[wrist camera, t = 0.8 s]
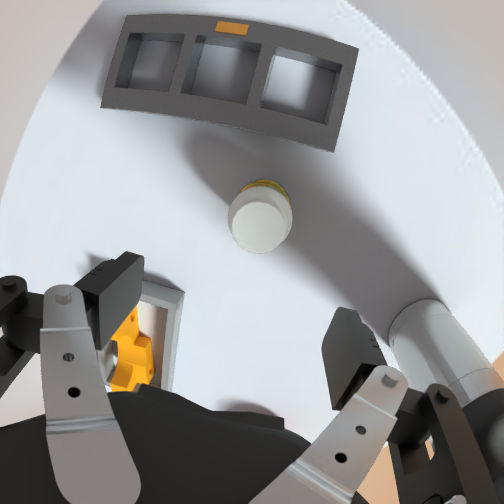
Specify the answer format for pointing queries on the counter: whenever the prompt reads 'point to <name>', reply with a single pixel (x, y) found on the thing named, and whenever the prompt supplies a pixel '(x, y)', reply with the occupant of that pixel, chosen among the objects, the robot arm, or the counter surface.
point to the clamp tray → (174, 304)
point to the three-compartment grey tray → (251, 114)
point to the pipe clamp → (132, 356)
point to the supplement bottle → (260, 216)
